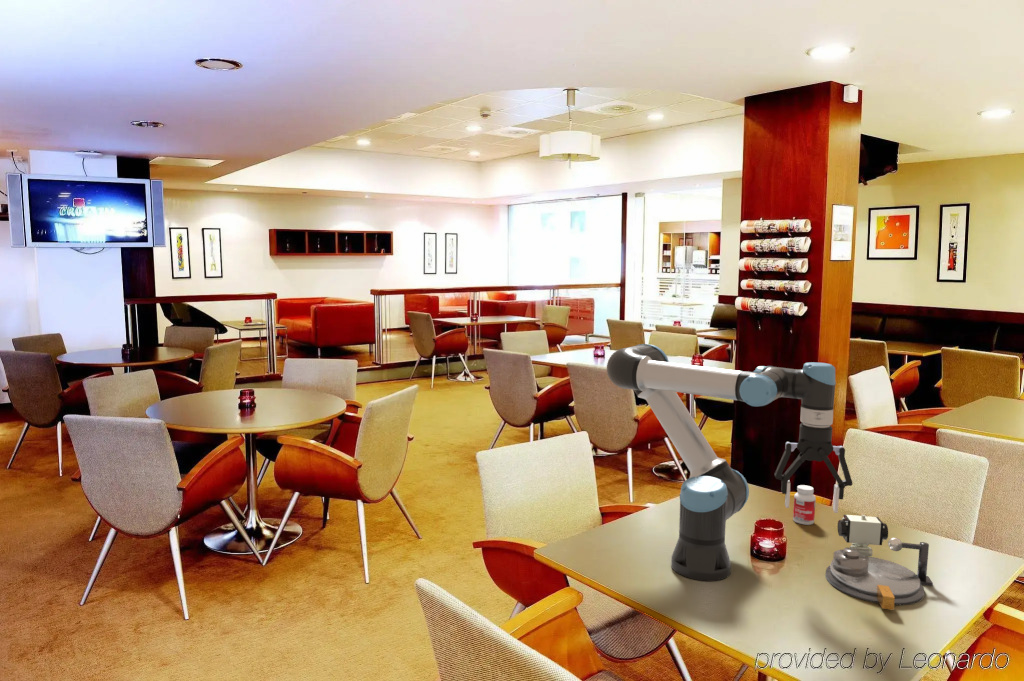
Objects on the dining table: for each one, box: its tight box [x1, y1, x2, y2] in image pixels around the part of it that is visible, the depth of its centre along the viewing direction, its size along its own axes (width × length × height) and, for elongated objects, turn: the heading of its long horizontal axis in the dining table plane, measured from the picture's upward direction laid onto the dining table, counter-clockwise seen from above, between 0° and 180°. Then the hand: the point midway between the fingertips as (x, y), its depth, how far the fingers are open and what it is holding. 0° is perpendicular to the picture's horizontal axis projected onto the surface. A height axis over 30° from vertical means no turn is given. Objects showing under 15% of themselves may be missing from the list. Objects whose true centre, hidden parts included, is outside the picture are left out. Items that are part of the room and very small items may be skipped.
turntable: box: [829, 556, 920, 611], centre depth 171 cm, size 20×26×3 cm
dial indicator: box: [887, 537, 934, 587], centre depth 176 cm, size 10×4×11 cm, turn 73°
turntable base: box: [825, 565, 925, 606], centre depth 174 cm, size 22×22×1 cm
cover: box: [832, 547, 869, 577], centre depth 175 cm, size 8×8×5 cm
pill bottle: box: [792, 484, 817, 526], centre depth 215 cm, size 6×6×11 cm
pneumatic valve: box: [837, 514, 889, 557], centre depth 189 cm, size 6×12×12 cm, turn 78°
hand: (810, 508), depth 176 cm, fingers open, 11 cm apart
